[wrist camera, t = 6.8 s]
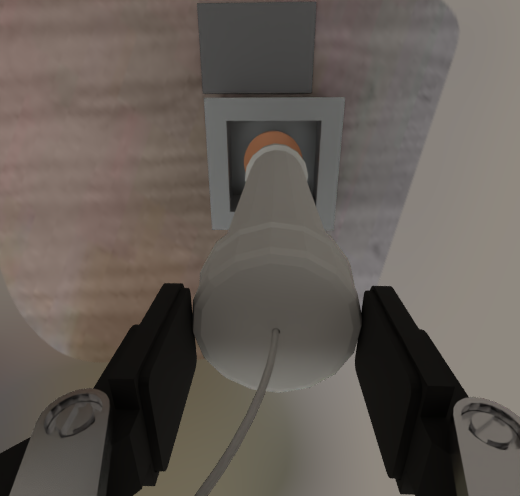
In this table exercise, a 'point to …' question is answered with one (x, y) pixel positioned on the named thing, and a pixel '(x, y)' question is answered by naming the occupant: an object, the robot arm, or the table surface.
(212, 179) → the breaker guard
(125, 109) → the table surface
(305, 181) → the grey cylindrical piece
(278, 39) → the mat
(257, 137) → the button
